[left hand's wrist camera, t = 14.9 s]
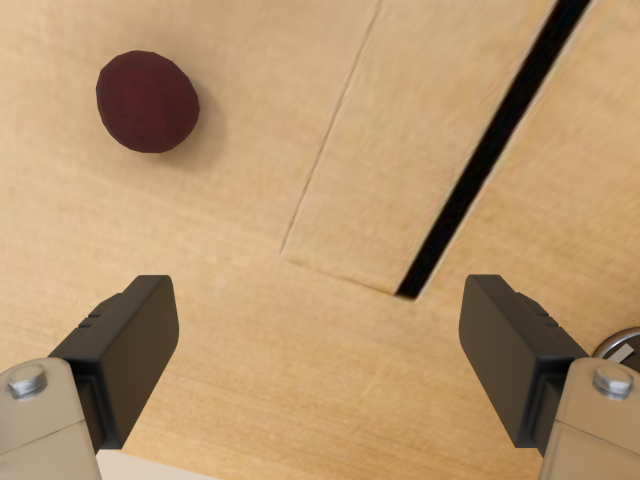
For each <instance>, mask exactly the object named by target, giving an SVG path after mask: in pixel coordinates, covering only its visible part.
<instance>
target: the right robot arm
mask: <svg viewBox="0 0 640 480" xmlns="http://www.w3.org/2000/svg"><path fill="white" fill-rule="evenodd" d="M592 358H601V359H606V360H610V361H613V362H616V363H619V364H622V365H624V366H626V367H629V368H631V369H632V370H634V371H636V372H638V373H639V374H640V327H638V328H632V329H628V330H625V331H622V332H620V333H618V334H616V335H614V336H612V337H611V338H609V339H608V340H607V341H605V342H604V343H603V344H602V345H601V346H600V347H599V348H598V349H597V351H596V352H595V354H594V355H593V357H592Z"/></svg>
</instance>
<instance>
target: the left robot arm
mask: <svg viewBox="0 0 640 480" xmlns="http://www.w3.org/2000/svg"><path fill="white" fill-rule="evenodd" d="M178 338H179V323H178V316H177V309H176V303H175V296H174V289H173V283H172V280H171V278H170V276H168V275H139V276H137V277H136V278H135V279H134V281H133V282H132V283H131V284H130V285H129V286H128V287H127V288H126V289H125V290H124V291H123V292H122V293H117V294H115V295H114V296H112V297H110V298H108V299H107V300H105V301H103V302H101V303H100V304H99V305H98V306H97V307H96V308H95V309H94V310H93V311H92V312H91V313H90V314H89V315H88V318H85V319H84V320H83V321H82V322H81V323H80V324H79V327H78V328H75V329H74V330H73V331H72V332H71V333H70V334H69V335H68V336H67V337H66V338H65V339H64V340H63V341H62V342H61V343H60V344H59V345H58V346H57V347H56V348H55V349H54V350H53V351H52V353H51V354H50V355H49V356H48V357H47V358H39V359H34V360H30V361H27V362H24V363H21V364H18V365H16V366H14V367H11V368H9V369H8V370H6V371H4V372H2V373H1V374H0V480H102V477H101V474H100V470H99V467H98V463H97V460H96V454H97V453H98V451H99V449H122V447H123V445H124V444H125V442H126V440H127V438H128V436H129V434H130V432H131V431H132V429H133V427H134V425H135V423H136V421H137V419H138V418H139V416H140V414H141V412H142V410H143V408H144V406H145V405H146V403H147V401H148V399H149V397H150V395H151V393H152V392H153V390H154V388H155V386H156V384H157V382H158V380H159V379H160V377H161V375H162V373H163V371H164V369H165V367H166V365H167V364H168V362H169V360H170V358H171V356H172V354H173V352H174V351H175V349H176V346H177V343H178ZM459 338H460V343H461V346H462V348H463V350H464V352H465V354H466V356H467V358H468V360H469V361H470V363H471V365H472V367H473V369H474V371H475V373H476V375H477V377H478V378H479V380H480V382H481V384H482V386H483V388H484V390H485V392H486V393H487V395H488V397H489V399H490V401H491V403H492V405H493V407H494V409H495V410H496V412H497V414H498V416H499V418H500V420H501V422H502V424H503V425H504V427H505V429H506V431H507V433H508V435H509V437H510V439H511V441H512V442H513V444H514V446H515V448H537V449H538V450H539V452H540V454H541V455H542V457H543V459H544V460H543V463H542V467H541V470H540V474H539V477H538V480H640V374H639V373H638V372H636V371H634V370H632V369H631V368H629V367H626V366H624V365H622V364H619V363H616V362H613V361H610V360H606V359H601V358H591V357H590V356H589V355H588V354H587V353H586V352H585V351H584V350H583V349H582V348H581V347H580V346H579V345H578V344H577V343H576V342H575V341H574V340H573V339H572V338H571V337H570V336H569V334H568V333H567V332H566V331H565V330H564V329H563V328H562V327H559V326H558V323H557V322H556V321H555V320H554V319H553V318H552V317H549V314H548V313H547V312H546V311H545V310H544V309H543V308H542V307H541V306H540V305H539V304H538V303H537V302H536V301H534V300H532V299H530V298H528V297H527V296H525V295H523V294H521V293H520V292H515V291H514V290H513V289H512V288H511V287H510V286H509V285H508V284H507V283H506V282H505V280H504V279H503V278H502V277H501V276H500V275H469V276H468V277H467V279H466V282H465V287H464V294H463V301H462V308H461V314H460V321H459Z"/></svg>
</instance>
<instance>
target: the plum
mask: <svg viewBox="0 0 640 480" xmlns="http://www.w3.org/2000/svg"><path fill="white" fill-rule="evenodd" d="M96 95H97V104H98V110H99V113H100V116H101V119H102V122H103V124H104V126H105V127H106V129H107V130H108V132H109V133H110V135H111V136H112V137H113V138H115V139H116V140H117V141H118V142H119V143H120V144H122V145H123V146H125V147H127V148H129V149H131V150H134V151H138V152H142V153H162V152H165V151H168V150H171V149H173V148H174V147H176V146H177V145H178V144H180V143H181V142H183V141H184V140H185V139H186V137H187V136H188V135H189V134H190V133H191V132H192V130H193V128H194V126H195V124H196V123H197V120H198V115H199V110H200V109H199V103H198V96H197V94H196V92H195V90H194V88H193V86H192V84H191V82H190V80H189V78H188V77H187V76H186V75H185V74H184V73H183V72H182V71H181V70H180V69H179V68H178V67H177V66H176V65H175V64H174V63H173V62H172V61H170V60H168V59H166V58H164V57H162V56H160V55H158V54H156V53H154V52H146V51H138V50H137V51H130V52H127V53H124V54H121V55H118V56H116V57H115V58H114V59H112V60H111V61H110V62H109V63H108V64H107V65H106V66H105V67H104V68H103V69H102V70H101V72H100V75H99V79H98V82H97V86H96Z"/></svg>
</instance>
